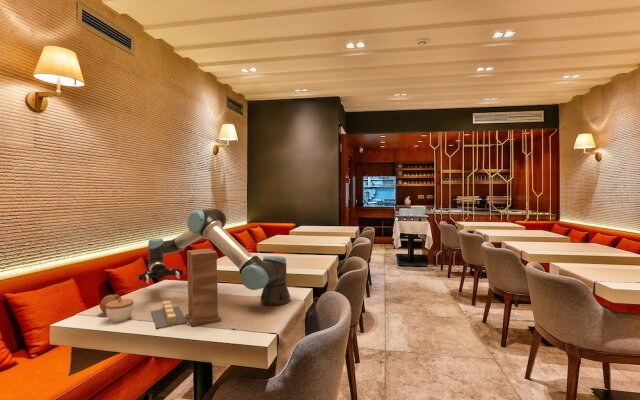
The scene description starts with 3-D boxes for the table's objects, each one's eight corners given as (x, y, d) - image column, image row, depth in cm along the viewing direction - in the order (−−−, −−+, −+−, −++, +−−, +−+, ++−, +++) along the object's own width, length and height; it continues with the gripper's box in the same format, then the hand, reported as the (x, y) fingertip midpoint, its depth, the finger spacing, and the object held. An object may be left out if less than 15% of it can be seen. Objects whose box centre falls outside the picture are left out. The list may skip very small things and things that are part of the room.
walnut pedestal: (185, 316, 150) (184, 250, 150) (212, 311, 157) (211, 248, 156) (191, 327, 138) (190, 255, 138) (220, 321, 145) (219, 252, 144)
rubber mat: (151, 312, 157) (151, 311, 157) (178, 307, 163) (178, 306, 163) (156, 329, 137) (156, 327, 137) (187, 323, 143) (187, 321, 143)
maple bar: (162, 306, 163) (162, 300, 163) (169, 305, 164) (169, 299, 164) (168, 324, 140) (168, 317, 140) (176, 322, 142) (175, 315, 142)
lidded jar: (121, 325, 142) (120, 303, 142) (99, 323, 144) (99, 302, 144) (139, 316, 152) (139, 295, 152) (119, 314, 154) (118, 294, 154)
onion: (121, 318, 158) (131, 299, 158) (102, 319, 150) (112, 299, 150) (111, 308, 162) (120, 289, 163) (91, 309, 154) (102, 289, 155)
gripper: (183, 273, 186) (190, 282, 168) (131, 280, 172) (134, 290, 154) (182, 260, 186) (190, 267, 168) (131, 266, 172) (133, 274, 154)
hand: (163, 278), depth 161 cm, fingers open, 13 cm apart
